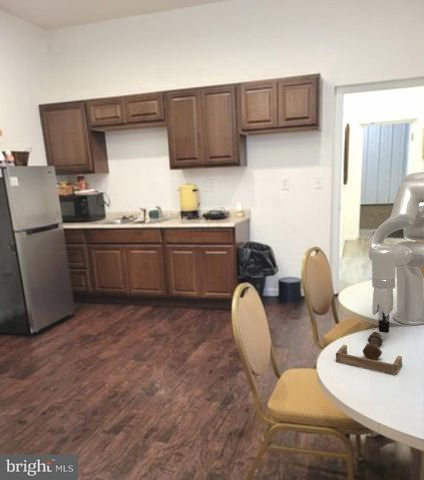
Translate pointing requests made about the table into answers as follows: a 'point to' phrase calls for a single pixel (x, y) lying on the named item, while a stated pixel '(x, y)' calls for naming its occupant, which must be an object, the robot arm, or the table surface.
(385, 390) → the table surface
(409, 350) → the table surface
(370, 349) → the bolt
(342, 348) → the bracket
